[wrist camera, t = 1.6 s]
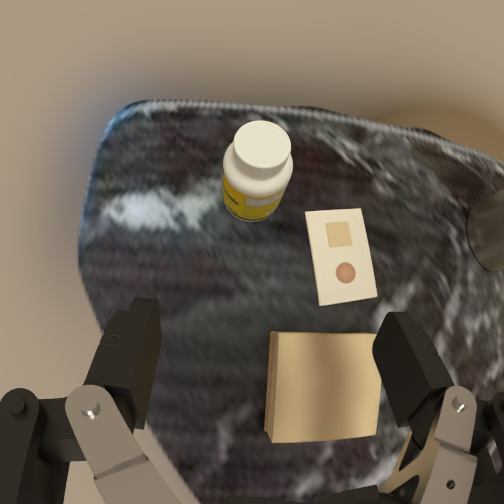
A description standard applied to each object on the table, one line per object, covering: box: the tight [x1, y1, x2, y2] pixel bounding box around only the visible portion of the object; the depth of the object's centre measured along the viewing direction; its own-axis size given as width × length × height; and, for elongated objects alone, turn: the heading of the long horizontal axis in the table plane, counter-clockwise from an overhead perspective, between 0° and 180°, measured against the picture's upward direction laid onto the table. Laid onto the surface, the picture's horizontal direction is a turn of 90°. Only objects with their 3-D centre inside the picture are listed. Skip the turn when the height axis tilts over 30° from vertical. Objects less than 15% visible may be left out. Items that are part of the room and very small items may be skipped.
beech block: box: [264, 331, 381, 443], centre depth 25 cm, size 9×9×4 cm
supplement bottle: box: [223, 121, 293, 222], centre depth 26 cm, size 5×5×10 cm
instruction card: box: [305, 208, 377, 306], centre depth 30 cm, size 6×9×1 cm, turn 7°
